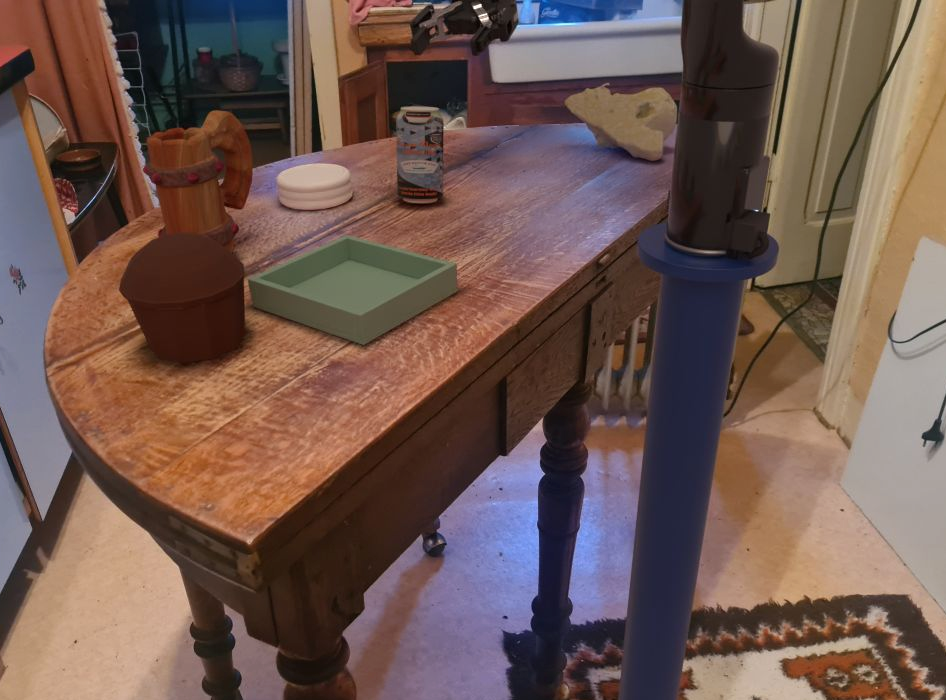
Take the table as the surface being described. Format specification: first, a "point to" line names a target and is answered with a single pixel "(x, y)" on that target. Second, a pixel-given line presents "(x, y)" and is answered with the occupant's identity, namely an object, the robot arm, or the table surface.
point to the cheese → (627, 119)
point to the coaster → (314, 186)
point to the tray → (354, 287)
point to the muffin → (186, 297)
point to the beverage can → (419, 154)
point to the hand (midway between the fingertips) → (444, 48)
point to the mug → (201, 177)
